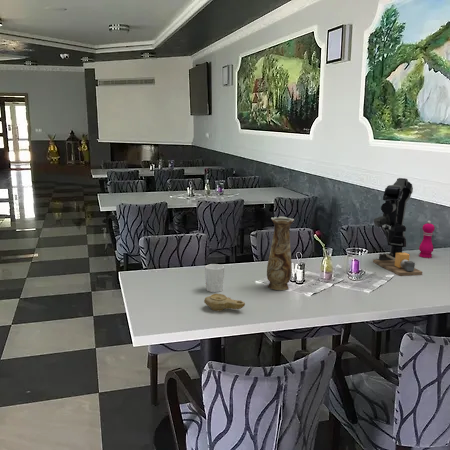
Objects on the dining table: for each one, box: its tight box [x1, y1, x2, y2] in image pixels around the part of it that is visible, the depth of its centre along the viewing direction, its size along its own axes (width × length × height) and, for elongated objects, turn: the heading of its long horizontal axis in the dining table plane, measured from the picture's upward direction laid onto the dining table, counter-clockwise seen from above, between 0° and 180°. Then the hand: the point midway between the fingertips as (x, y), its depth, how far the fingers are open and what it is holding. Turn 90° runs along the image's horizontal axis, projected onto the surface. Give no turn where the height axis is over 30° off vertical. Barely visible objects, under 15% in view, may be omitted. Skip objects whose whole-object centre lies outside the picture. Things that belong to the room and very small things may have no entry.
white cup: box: [204, 263, 225, 293], centre depth 201 cm, size 8×8×10 cm
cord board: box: [372, 252, 423, 277], centre depth 239 cm, size 24×12×6 cm, turn 13°
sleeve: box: [395, 251, 410, 268], centre depth 235 cm, size 4×5×6 cm
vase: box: [266, 215, 295, 291], centre depth 204 cm, size 10×11×30 cm
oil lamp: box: [203, 293, 246, 312], centre depth 180 cm, size 11×14×5 cm
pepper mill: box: [418, 220, 435, 259], centre depth 262 cm, size 7×7×20 cm
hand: (388, 242), depth 243 cm, fingers closed
